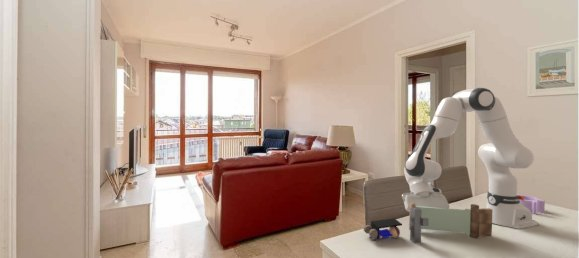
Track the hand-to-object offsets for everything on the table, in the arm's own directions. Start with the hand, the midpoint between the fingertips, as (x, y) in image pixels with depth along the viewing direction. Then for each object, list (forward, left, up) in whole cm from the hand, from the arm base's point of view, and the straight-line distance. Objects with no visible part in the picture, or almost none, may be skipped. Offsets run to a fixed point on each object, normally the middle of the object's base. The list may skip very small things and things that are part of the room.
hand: (432, 219), depth 121 cm
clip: (-71, -20, -6) cm, 74 cm away
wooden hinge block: (-17, +8, -5) cm, 20 cm away
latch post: (+13, +9, -5) cm, 16 cm away
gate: (-1, +2, -5) cm, 6 cm away
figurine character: (+26, +3, -6) cm, 27 cm away
